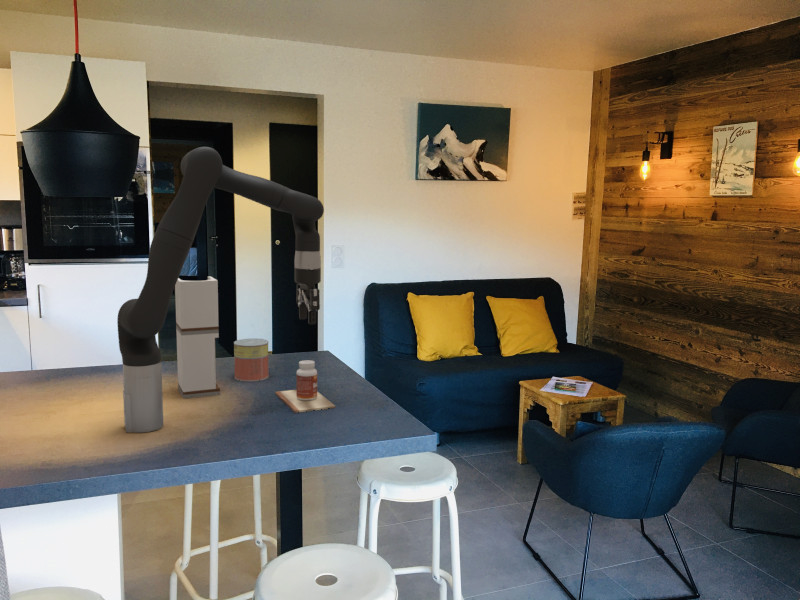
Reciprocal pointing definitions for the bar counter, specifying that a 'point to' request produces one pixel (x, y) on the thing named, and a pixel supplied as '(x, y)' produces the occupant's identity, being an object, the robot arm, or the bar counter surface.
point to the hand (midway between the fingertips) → (307, 321)
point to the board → (303, 402)
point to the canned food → (251, 359)
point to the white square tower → (197, 336)
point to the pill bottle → (306, 381)
